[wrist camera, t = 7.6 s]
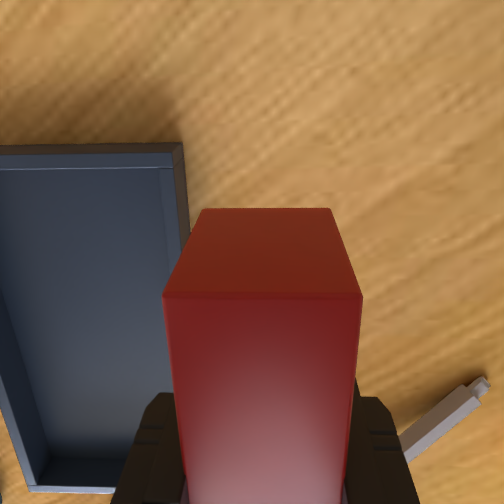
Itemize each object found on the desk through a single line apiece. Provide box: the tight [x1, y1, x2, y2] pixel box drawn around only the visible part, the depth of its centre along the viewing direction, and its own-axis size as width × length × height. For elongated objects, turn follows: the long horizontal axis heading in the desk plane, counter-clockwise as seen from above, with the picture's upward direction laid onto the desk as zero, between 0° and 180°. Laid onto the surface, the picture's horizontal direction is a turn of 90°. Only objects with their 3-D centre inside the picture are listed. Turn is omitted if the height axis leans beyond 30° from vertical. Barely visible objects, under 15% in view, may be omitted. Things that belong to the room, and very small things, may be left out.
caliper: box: [398, 376, 491, 464], centre depth 30 cm, size 20×1×6 cm, turn 134°
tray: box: [0, 142, 191, 494], centre depth 28 cm, size 26×14×3 cm, turn 1°
